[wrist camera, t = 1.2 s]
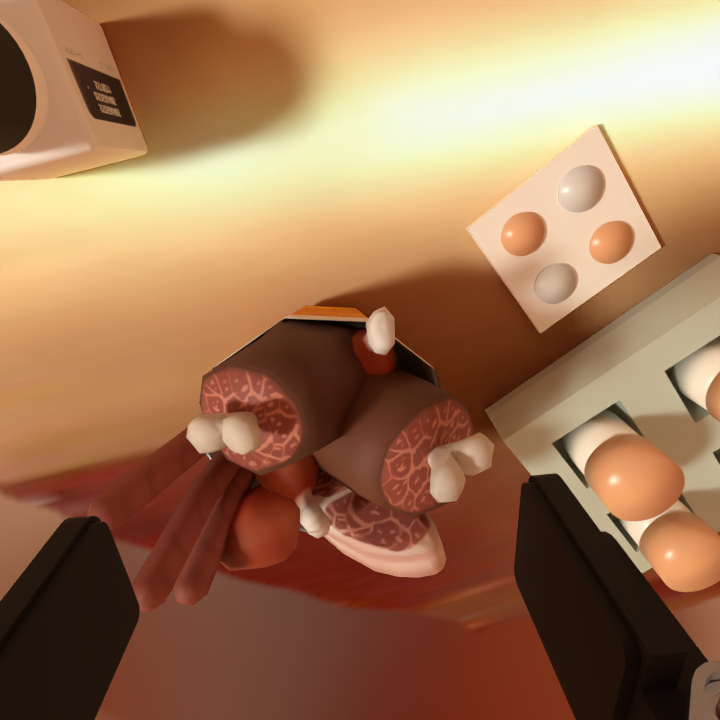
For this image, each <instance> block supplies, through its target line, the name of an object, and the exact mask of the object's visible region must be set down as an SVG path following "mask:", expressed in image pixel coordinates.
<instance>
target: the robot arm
mask: <svg viewBox="0 0 720 720" xmlns="http://www.w3.org/2000/svg"><path fill="white" fill-rule="evenodd" d="M514 573H515V579H516V582H517V585H518V588H519V590H520V592H521V595H522V597H523V599H524V602H525V604H526V606H527V609H528V611H529V613H530V615H531V618H532V620H533V622H534V625H535V627H536V629H537V631H538V634H539V636H540V638H541V641H542V643H543V645H544V647H545V650H546V652H547V654H548V656H549V659H550V661H551V664H552V666H553V668H554V671H555V673H556V675H557V677H558V680H559V682H560V684H561V687H562V689H563V691H564V694H565V695H566V698H567V700H568V703H569V705H570V707H571V709H572V712H573V714H574V717H575V719H576V720H720V661H718V660H716V661H711V662H708V660H707V659H706V658H705V656H704V655H703V654H702V653H701V651H700V650H699V648H698V647H697V646H696V645H695V643H694V642H693V641H692V639H691V638H690V637H689V635H688V634H687V633H686V631H685V630H684V629H683V627H682V626H681V625H680V624H679V622H678V621H677V619H676V618H675V617H674V615H673V614H672V613H671V611H670V610H669V609H668V608H667V606H666V605H665V604H664V602H663V601H662V600H661V598H660V597H659V596H658V594H657V593H656V592H655V590H654V589H653V588H652V586H651V585H650V584H649V582H648V581H647V580H646V578H645V577H644V576H643V574H642V573H641V572H640V571H639V569H638V568H637V567H636V565H635V564H634V563H633V561H632V560H631V559H630V557H629V556H628V555H627V553H626V552H625V551H624V549H623V548H622V547H621V545H620V544H619V543H618V541H617V540H616V539H615V538H614V537H613V536H612V535H611V534H610V533H608V532H606V531H600V530H599V528H598V527H597V525H596V524H595V523H594V521H593V520H592V519H591V517H590V516H589V515H588V513H587V512H586V510H585V509H584V508H583V506H582V505H581V504H580V502H579V501H578V499H577V498H576V497H575V495H574V494H573V493H572V491H571V490H570V489H569V487H568V486H567V484H566V483H565V482H564V480H563V479H562V478H561V477H560V475H559V474H556V473H553V474H542V475H532V476H530V478H529V481H528V483H523V484H522V487H521V497H520V508H519V520H518V531H517V542H516V554H515V565H514ZM139 612H140V608H139V603H138V600H137V598H136V595H135V593H134V590H133V587H132V585H131V582H130V580H129V577H128V575H127V572H126V570H125V567H124V565H123V562H122V560H121V557H120V554H119V552H118V549H117V547H116V544H115V542H114V539H113V537H112V534H111V531H110V529H109V526H108V525H107V523H105V522H101V520H100V518H98V517H97V516H86V517H75V518H68V519H66V520H64V521H63V522H62V523H61V524H60V526H59V527H58V528H57V530H56V531H55V532H54V534H53V535H52V536H51V537H50V539H49V540H48V541H47V542H46V544H45V545H44V546H43V548H42V549H41V550H40V551H39V553H38V554H37V555H36V557H35V558H34V559H33V560H32V562H31V563H30V564H29V565H28V567H27V568H26V569H25V571H24V572H23V573H22V575H21V576H20V577H19V578H18V580H17V581H16V582H15V583H14V585H13V586H12V587H11V589H10V590H9V591H8V593H7V594H6V595H5V596H4V598H3V599H2V600H1V601H0V720H94V719H95V717H96V715H97V713H98V710H99V708H100V706H101V703H102V701H103V699H104V697H105V695H106V692H107V690H108V688H109V686H110V683H111V681H112V679H113V676H114V674H115V672H116V670H117V667H118V665H119V663H120V661H121V658H122V656H123V654H124V652H125V649H126V647H127V645H128V642H129V640H130V638H131V635H132V633H133V631H134V629H135V627H136V624H137V622H138V618H139Z"/></svg>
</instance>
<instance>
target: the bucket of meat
mask: <svg viewBox="0 0 720 720" xmlns="http://www.w3.org/2000/svg"><path fill="white" fill-rule="evenodd" d="M200 406H201V410H202V413H203V414H200V415H198V416H196V417H194V418H193V419H192V421H191V422H190V424H189V425H188V428H186V429H185V430H184V431H182V432H181V433H180V434H178V435H177V436H176V437H174V438H173V439H172V440H170V441H169V442H168V443H166V444H165V445H164V446H162V447H161V448H160V449H158V450H157V451H156V452H154V453H153V454H152V455H150V456H149V457H148V458H146V459H145V460H144V461H142V462H141V463H140V464H138V465H137V466H136V467H134V468H133V469H132V470H130V471H129V472H127V473H126V474H125V475H123V476H122V477H121V478H119V479H118V480H117V481H115V482H114V483H113V484H111V485H110V486H109V487H107V488H106V489H105V490H103V491H102V492H101V493H99V494H98V495H97V496H95V498H94V500H93V501H92V503H91V505H90V508H89V511H88V514H87V516H97V517H98V518H100V520H101V522H105V523H107V525H108V526H109V529H110V530H113V529H118V528H119V527H120V526H121V525H122V524H124V523H125V522H126V521H127V520H128V519H129V518H131V517H132V516H133V515H134V514H135V513H137V512H138V511H139V510H140V509H141V508H142V507H144V506H145V505H146V504H147V503H148V502H150V501H151V500H152V499H153V498H154V497H155V496H157V495H158V494H159V493H160V492H161V491H163V490H164V489H165V488H166V487H167V486H168V485H170V484H171V483H172V482H173V481H174V480H176V479H177V478H178V477H179V476H180V475H181V474H183V473H184V472H185V471H186V470H187V469H189V468H190V467H191V466H192V465H193V464H194V463H196V462H197V461H198V460H199V459H200V458H202V457H203V456H204V455H206V454H207V455H208V457H209V458H210V461H209V462H208V464H207V465H206V466H205V467H204V468H203V469H202V471H201V472H200V473H199V474H198V475H197V477H196V478H195V479H194V480H193V481H192V483H191V485H190V487H189V488H188V490H187V492H186V493H185V495H184V497H183V498H182V500H181V502H180V504H179V505H178V507H177V509H176V510H175V512H174V514H173V515H172V517H171V519H170V520H169V522H168V524H167V526H166V527H165V529H164V531H163V532H162V534H161V536H160V537H159V539H158V541H157V543H156V544H155V546H154V548H153V549H152V551H151V553H150V555H149V556H148V558H147V560H146V561H145V563H144V565H143V566H142V568H141V570H140V572H139V573H138V575H137V576H136V578H135V580H134V582H133V584H132V587H133V590H134V593H135V595H136V598H137V600H138V603H139V608H140V611H141V612H151V611H153V610H154V609H155V608H157V607H158V606H160V605H161V604H163V603H164V602H165V601H166V599H167V597H168V596H169V594H170V592H171V590H172V588H174V593H175V598H176V600H177V602H178V603H181V604H184V605H194V604H196V603H197V602H198V601H199V600H201V599H202V598H203V597H204V596H205V595H207V594H208V591H209V589H210V586H211V583H212V581H213V578H214V576H215V573H216V571H217V568H218V566H219V563H220V562H221V563H222V564H223V565H224V566H225V567H226V568H227V569H228V570H229V571H232V570H243V569H253V568H263V567H267V566H270V565H273V564H276V563H279V562H282V561H284V560H286V559H287V558H288V557H289V556H290V554H291V553H292V552H293V550H294V549H295V547H296V546H297V542H298V535H299V530H301V531H304V532H308V533H309V534H310V535H312V536H314V537H316V538H320V537H322V536H324V537H325V538H326V539H327V540H329V541H330V542H331V543H332V544H333V545H334V546H336V547H337V548H338V549H339V550H340V551H341V552H343V553H344V554H345V555H347V556H349V557H351V558H353V559H354V560H356V561H358V562H360V563H362V564H363V565H365V566H367V567H369V568H371V569H372V570H374V571H377V572H381V573H385V574H390V575H394V576H398V577H423V576H429V575H434V574H437V573H438V572H439V571H441V570H442V569H443V568H444V564H445V561H446V556H445V553H444V549H443V545H442V542H441V540H440V537H439V535H438V532H437V529H436V527H435V524H434V522H433V520H432V518H431V517H430V515H429V513H428V512H429V511H431V510H433V509H435V508H438V507H440V506H442V505H445V504H447V503H448V502H451V501H457V499H458V497H459V496H460V494H461V492H462V490H463V488H464V484H465V474H466V475H472V476H474V475H476V474H478V473H480V472H482V471H484V470H486V469H488V468H490V467H491V463H492V454H493V450H494V444H493V443H492V442H491V441H490V440H489V439H488V438H487V437H486V436H484V435H483V434H482V433H480V432H479V433H477V434H474V429H473V425H472V421H471V416H470V412H469V408H468V407H467V406H466V405H465V404H463V403H462V402H461V401H460V400H459V399H457V398H456V397H455V396H454V395H452V394H451V393H449V392H447V391H445V390H443V389H441V388H440V385H439V382H438V378H437V374H436V370H435V369H434V368H433V367H432V366H431V365H430V364H429V363H427V362H426V361H425V360H423V359H422V358H421V357H420V356H418V355H417V354H416V353H414V352H413V351H412V350H411V349H409V348H408V347H407V346H406V345H404V344H403V343H402V342H400V341H399V340H398V339H397V338H395V318H394V317H393V316H392V315H391V313H390V312H389V311H388V310H387V309H386V307H385V306H384V307H382V308H380V309H378V310H376V311H374V312H373V313H372V315H371V316H370V317H369V318H368V317H366V316H365V315H364V314H362V313H361V312H360V311H359V310H357V309H356V308H347V307H324V306H305V307H303V308H301V309H300V310H298V311H297V312H295V313H293V314H292V315H290V316H286V317H284V318H283V319H281V320H280V321H278V322H277V323H276V324H274V325H273V326H271V327H270V328H268V329H267V330H266V331H264V332H263V333H261V334H260V335H259V336H257V337H256V338H254V339H253V340H251V341H250V342H249V343H247V344H246V345H244V346H243V347H241V348H240V349H239V350H237V351H236V352H234V353H233V354H232V355H230V356H229V357H227V358H226V359H224V360H223V361H222V362H220V363H219V364H218V365H216V366H215V367H214V368H213V369H212V370H211V371H210V372H208V373H207V374H205V375H204V376H203V378H202V387H201V395H200Z"/></svg>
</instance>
